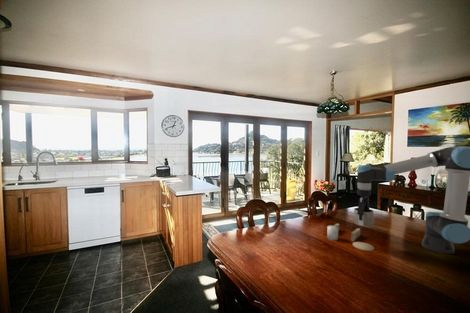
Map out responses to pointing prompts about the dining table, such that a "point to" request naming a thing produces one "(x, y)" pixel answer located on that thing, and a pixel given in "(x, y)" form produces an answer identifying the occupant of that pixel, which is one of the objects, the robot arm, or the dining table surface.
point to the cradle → (354, 234)
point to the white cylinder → (332, 233)
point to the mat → (363, 246)
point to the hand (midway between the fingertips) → (363, 222)
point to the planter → (365, 217)
